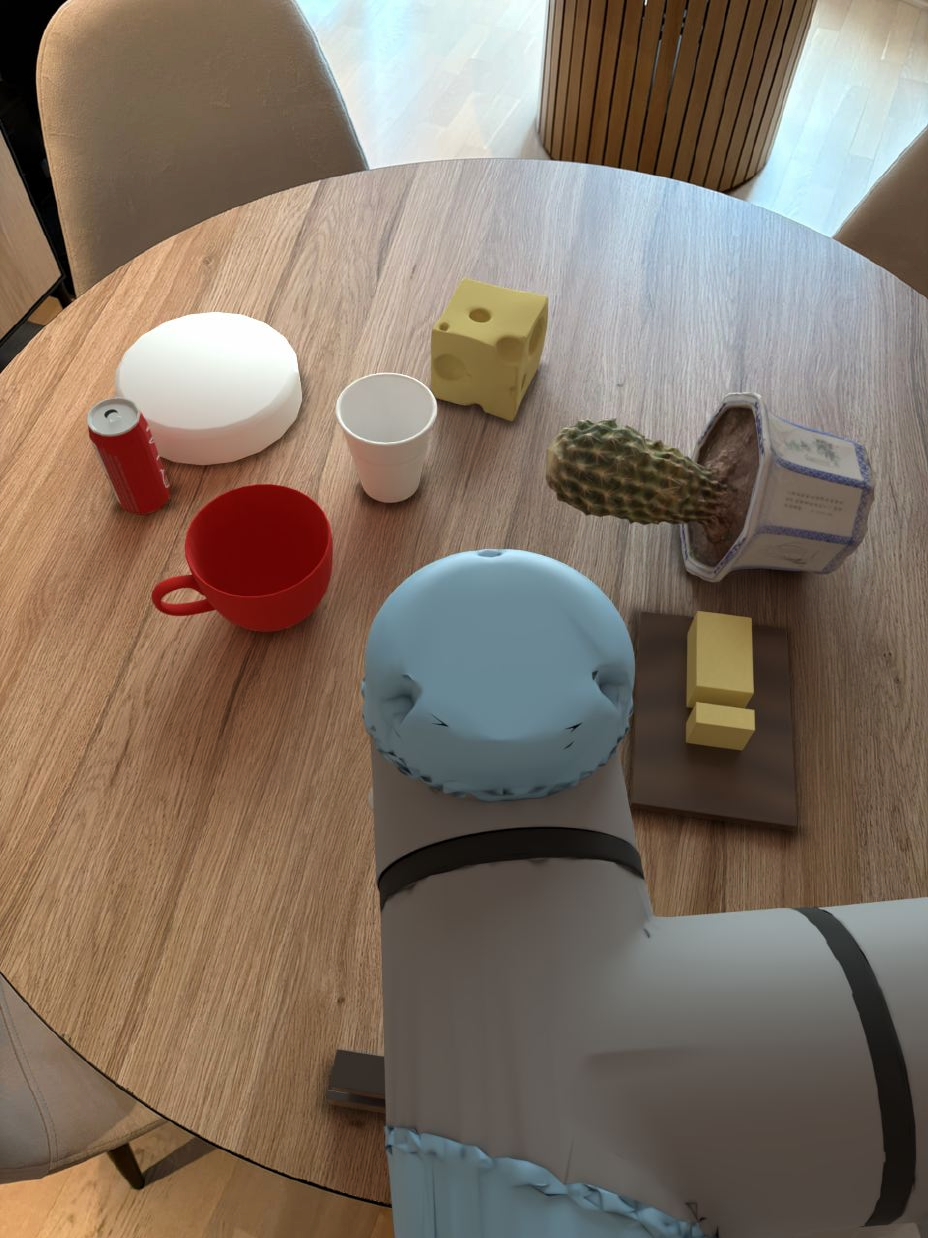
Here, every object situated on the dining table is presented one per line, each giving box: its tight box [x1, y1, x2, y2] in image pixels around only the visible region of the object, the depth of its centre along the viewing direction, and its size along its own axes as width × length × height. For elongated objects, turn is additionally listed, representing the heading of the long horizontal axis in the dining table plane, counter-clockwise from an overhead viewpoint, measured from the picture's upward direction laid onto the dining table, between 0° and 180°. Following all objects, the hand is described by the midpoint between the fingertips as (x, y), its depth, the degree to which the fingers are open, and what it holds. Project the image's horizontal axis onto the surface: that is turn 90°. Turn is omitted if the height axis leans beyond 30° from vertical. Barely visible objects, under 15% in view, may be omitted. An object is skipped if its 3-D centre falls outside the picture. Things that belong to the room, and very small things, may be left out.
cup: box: [334, 372, 438, 504], centre depth 97 cm, size 10×10×11 cm
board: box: [629, 610, 798, 832], centre depth 87 cm, size 20×14×1 cm
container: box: [113, 311, 303, 466], centre depth 106 cm, size 20×20×5 cm
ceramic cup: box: [151, 483, 334, 632], centre depth 88 cm, size 13×17×10 cm
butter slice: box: [686, 702, 755, 750], centre depth 83 cm, size 2×5×4 cm, turn 82°
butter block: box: [686, 610, 754, 709], centre depth 87 cm, size 8×5×4 cm, turn 172°
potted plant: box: [545, 391, 877, 583], centre depth 90 cm, size 18×18×30 cm
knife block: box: [325, 1064, 386, 1114], centre depth 68 cm, size 11×2×4 cm, turn 82°
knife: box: [330, 1048, 385, 1099], centre depth 65 cm, size 9×2×11 cm, turn 82°
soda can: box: [86, 396, 172, 515], centre depth 95 cm, size 6×6×12 cm
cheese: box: [430, 276, 549, 422], centre depth 106 cm, size 10×11×10 cm
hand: (465, 973), depth 56 cm, fingers open, 13 cm apart
